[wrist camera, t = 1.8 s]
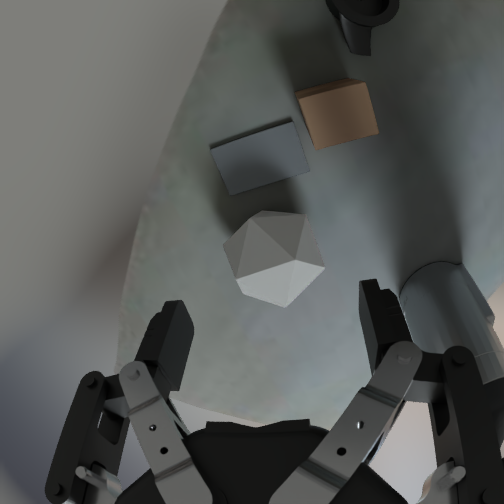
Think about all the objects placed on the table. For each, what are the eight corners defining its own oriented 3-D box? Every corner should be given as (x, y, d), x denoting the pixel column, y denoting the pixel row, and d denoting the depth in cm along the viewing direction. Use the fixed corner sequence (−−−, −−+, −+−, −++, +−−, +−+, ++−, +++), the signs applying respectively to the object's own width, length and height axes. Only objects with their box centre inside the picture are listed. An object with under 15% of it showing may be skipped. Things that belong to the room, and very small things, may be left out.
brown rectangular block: (347, 77, 24) (365, 82, 19) (360, 119, 26) (379, 133, 21) (294, 92, 25) (298, 99, 20) (308, 132, 27) (315, 150, 22)
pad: (292, 120, 26) (293, 121, 26) (309, 170, 29) (309, 171, 28) (210, 148, 28) (210, 149, 28) (230, 194, 31) (230, 195, 31)
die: (214, 234, 34) (231, 324, 31) (227, 186, 26) (250, 301, 23) (287, 228, 37) (309, 311, 33) (316, 183, 29) (349, 285, 25)
